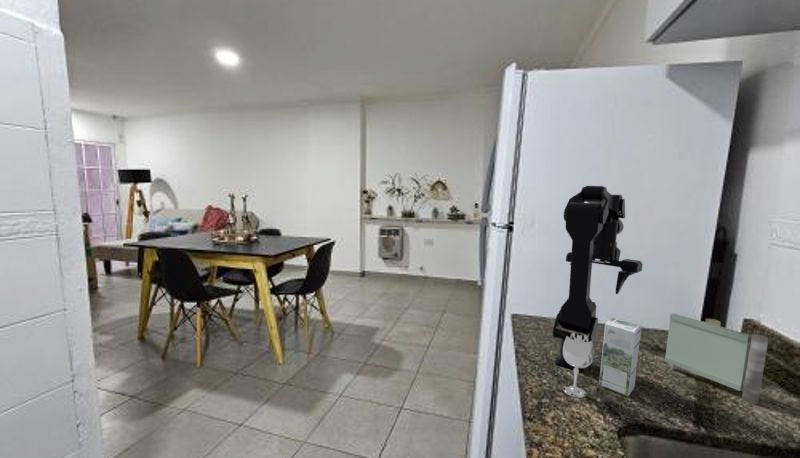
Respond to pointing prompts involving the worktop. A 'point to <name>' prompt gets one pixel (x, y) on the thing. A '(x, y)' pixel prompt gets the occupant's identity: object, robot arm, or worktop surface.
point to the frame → (752, 366)
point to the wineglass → (577, 359)
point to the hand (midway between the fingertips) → (599, 290)
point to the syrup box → (620, 356)
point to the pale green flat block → (708, 350)
